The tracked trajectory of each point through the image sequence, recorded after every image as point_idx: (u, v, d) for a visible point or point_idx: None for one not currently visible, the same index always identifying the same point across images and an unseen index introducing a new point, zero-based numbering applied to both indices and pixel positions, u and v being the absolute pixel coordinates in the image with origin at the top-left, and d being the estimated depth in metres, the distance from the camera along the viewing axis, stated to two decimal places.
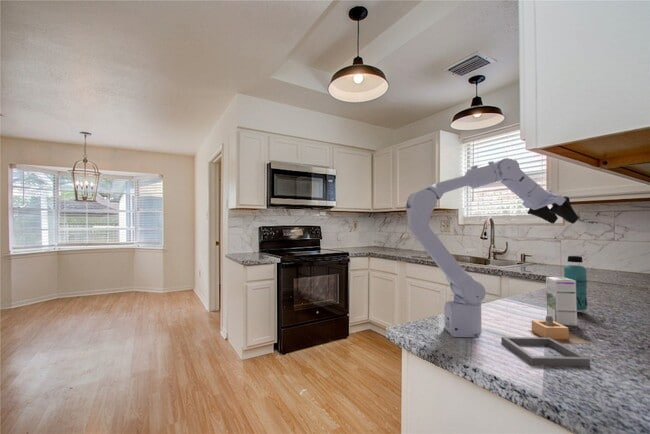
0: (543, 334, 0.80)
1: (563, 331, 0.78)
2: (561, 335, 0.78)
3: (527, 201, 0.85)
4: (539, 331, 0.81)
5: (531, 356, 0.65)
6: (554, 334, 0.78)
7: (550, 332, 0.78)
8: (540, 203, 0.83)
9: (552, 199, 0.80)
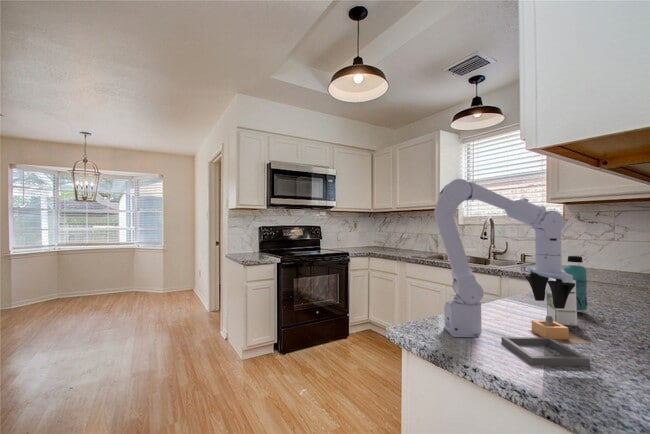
0: (543, 334, 0.80)
1: (563, 331, 0.78)
2: (561, 335, 0.78)
3: (539, 261, 0.81)
4: (539, 331, 0.81)
5: (531, 356, 0.65)
6: (554, 334, 0.78)
7: (550, 332, 0.78)
8: (547, 271, 0.79)
9: None
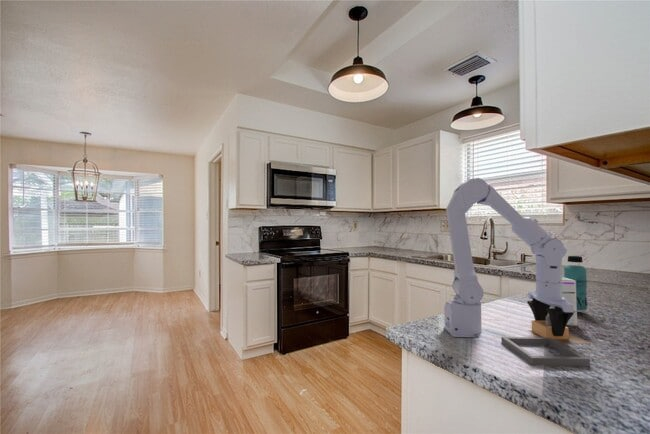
0: (542, 334, 0.80)
1: None
2: None
3: (539, 288, 0.81)
4: (539, 331, 0.81)
5: (531, 356, 0.65)
6: None
7: (550, 332, 0.78)
8: (548, 298, 0.79)
9: (562, 303, 0.76)
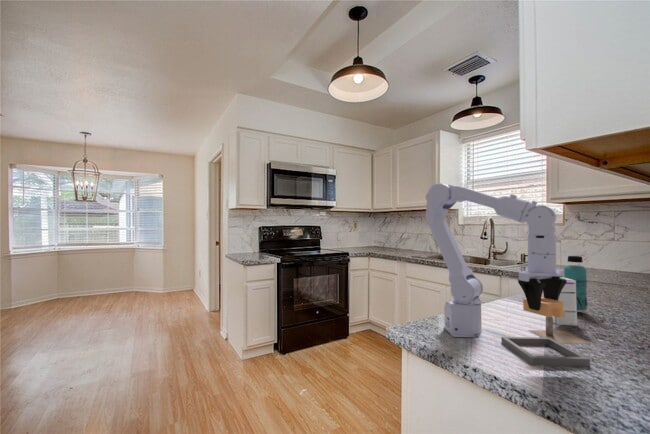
0: None
1: (542, 306, 0.71)
2: (539, 310, 0.72)
3: None
4: None
5: (531, 356, 0.65)
6: None
7: None
8: (528, 269, 0.75)
9: None
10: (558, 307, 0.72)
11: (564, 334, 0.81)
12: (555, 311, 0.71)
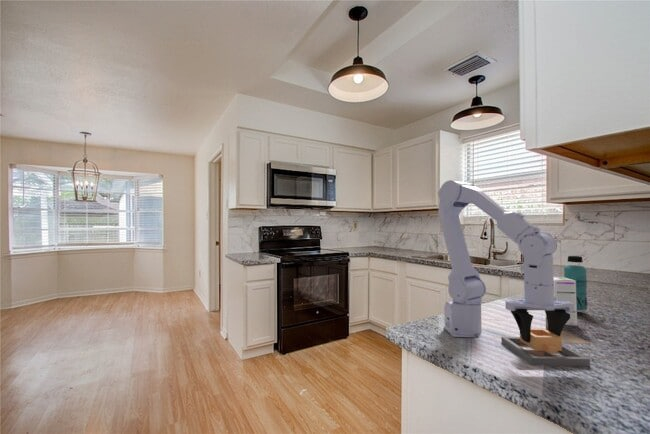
0: None
1: (531, 339, 0.69)
2: (530, 342, 0.69)
3: None
4: None
5: (531, 356, 0.65)
6: None
7: None
8: (524, 299, 0.72)
9: None
10: (553, 342, 0.67)
11: (564, 334, 0.81)
12: (546, 346, 0.67)
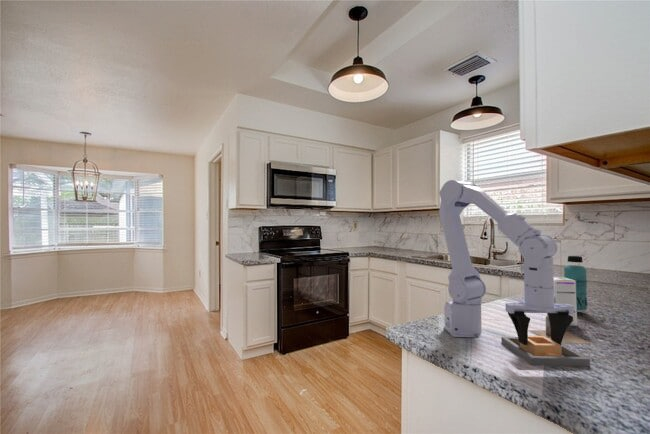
0: None
1: (531, 347, 0.69)
2: (530, 350, 0.69)
3: None
4: None
5: (531, 356, 0.65)
6: (525, 346, 0.71)
7: None
8: None
9: None
10: (553, 350, 0.67)
11: (564, 334, 0.81)
12: (546, 354, 0.67)
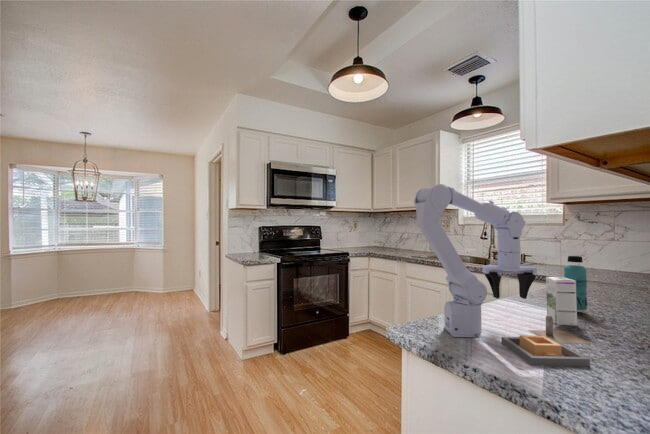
0: None
1: (531, 347, 0.69)
2: (530, 350, 0.69)
3: None
4: None
5: (531, 356, 0.65)
6: (525, 346, 0.71)
7: (522, 342, 0.72)
8: None
9: None
10: (553, 350, 0.67)
11: (564, 334, 0.81)
12: (546, 354, 0.67)
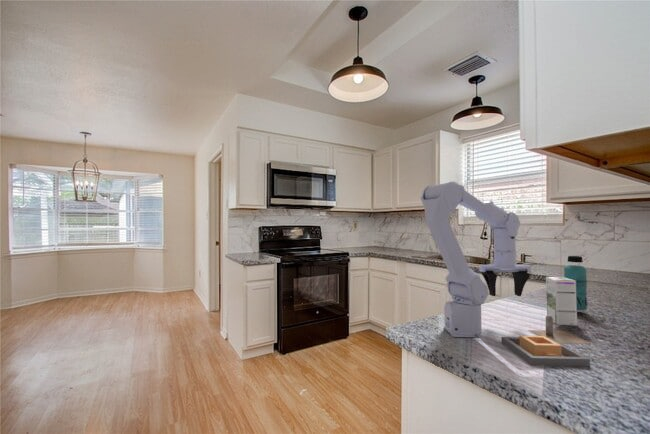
0: None
1: (531, 347, 0.69)
2: (530, 350, 0.69)
3: None
4: None
5: (531, 356, 0.65)
6: (525, 346, 0.71)
7: (522, 342, 0.72)
8: None
9: None
10: (553, 350, 0.67)
11: (564, 334, 0.81)
12: (546, 354, 0.67)
